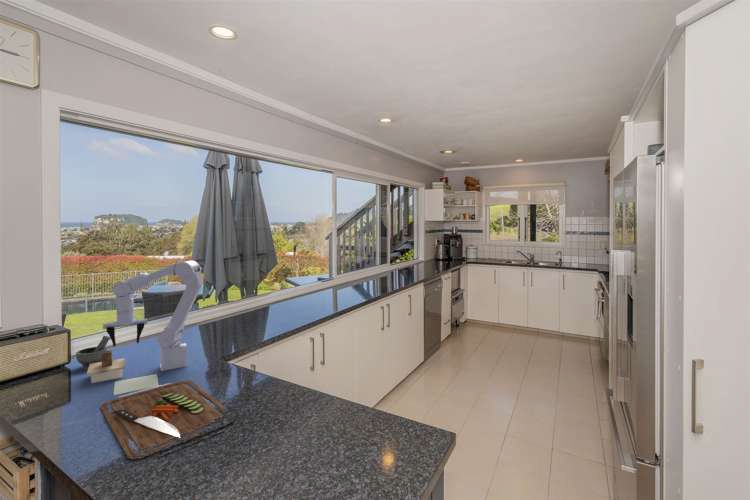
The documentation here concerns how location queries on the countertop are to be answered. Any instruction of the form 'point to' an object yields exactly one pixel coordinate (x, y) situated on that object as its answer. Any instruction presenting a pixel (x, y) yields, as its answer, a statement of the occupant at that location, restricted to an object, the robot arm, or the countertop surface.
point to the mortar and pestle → (92, 353)
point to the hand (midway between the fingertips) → (126, 344)
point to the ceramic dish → (106, 376)
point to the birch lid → (106, 364)
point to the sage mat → (135, 384)
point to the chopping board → (159, 415)
